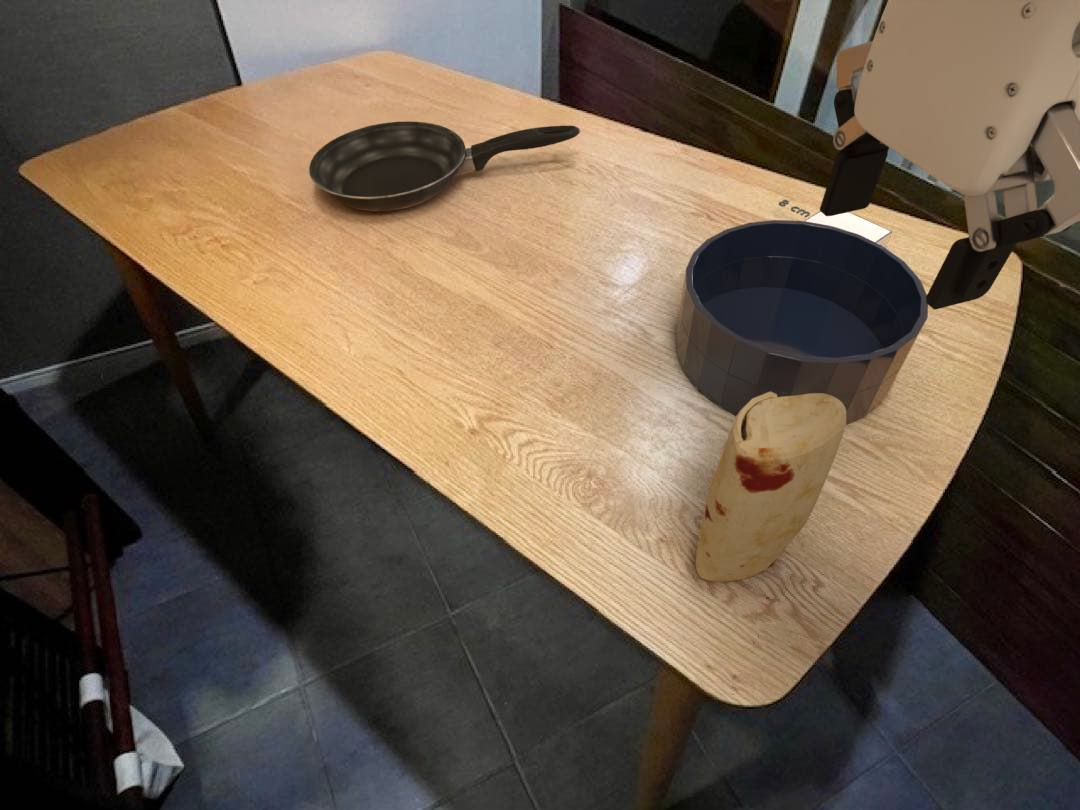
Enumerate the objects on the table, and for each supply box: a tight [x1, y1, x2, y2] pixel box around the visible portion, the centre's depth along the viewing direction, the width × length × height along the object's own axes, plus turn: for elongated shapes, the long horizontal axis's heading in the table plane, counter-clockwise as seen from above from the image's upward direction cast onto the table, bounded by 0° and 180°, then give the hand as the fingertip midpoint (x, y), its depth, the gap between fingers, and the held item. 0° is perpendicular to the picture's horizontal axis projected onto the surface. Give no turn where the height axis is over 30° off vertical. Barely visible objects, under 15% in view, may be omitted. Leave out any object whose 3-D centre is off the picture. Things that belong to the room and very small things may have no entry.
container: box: [778, 199, 893, 248], centre depth 88 cm, size 20×11×3 cm, turn 39°
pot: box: [675, 219, 929, 425], centre depth 72 cm, size 24×24×10 cm
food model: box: [695, 391, 847, 583], centre depth 50 cm, size 10×7×20 cm
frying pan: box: [308, 120, 581, 212], centre depth 104 cm, size 44×25×7 cm, turn 94°
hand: (893, 251), depth 37 cm, fingers open, 9 cm apart
